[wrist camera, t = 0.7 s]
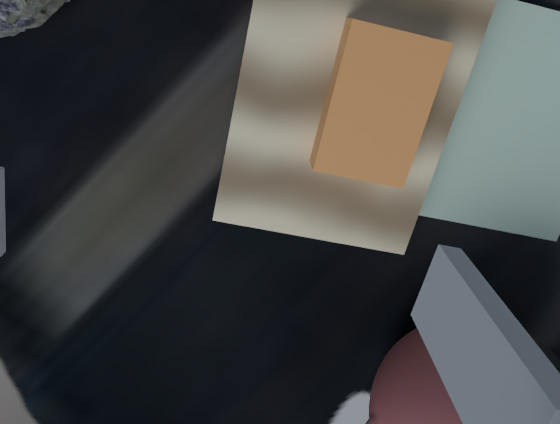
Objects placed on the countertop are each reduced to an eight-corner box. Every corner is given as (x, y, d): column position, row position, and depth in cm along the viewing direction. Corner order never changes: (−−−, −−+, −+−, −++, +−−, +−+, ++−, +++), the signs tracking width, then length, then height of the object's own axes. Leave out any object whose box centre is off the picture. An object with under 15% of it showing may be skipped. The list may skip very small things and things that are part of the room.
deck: (272, -102, 29) (275, -117, 26) (484, -44, 31) (515, -50, 27) (216, 198, 37) (212, 220, 33) (389, 230, 39) (403, 254, 35)
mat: (480, -9, 32) (483, -9, 31) (651, 36, 34) (657, 37, 33) (403, 209, 38) (405, 212, 37) (551, 238, 40) (556, 241, 39)
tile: (346, 17, 28) (352, 18, 27) (441, 40, 29) (453, 43, 27) (309, 160, 32) (312, 170, 30) (395, 178, 33) (403, 188, 31)
